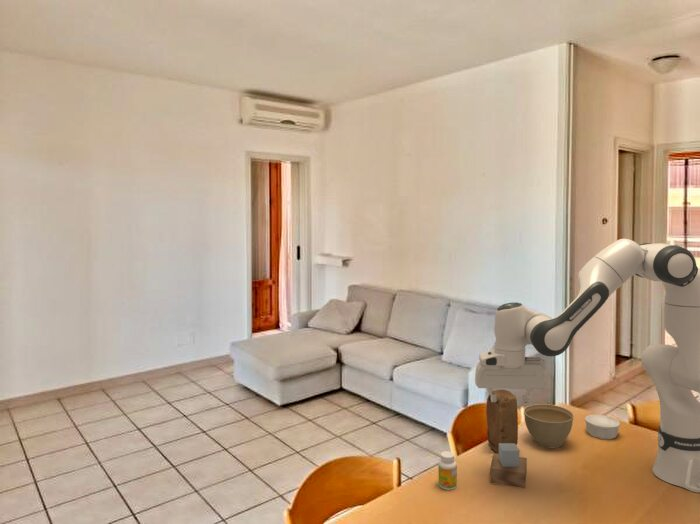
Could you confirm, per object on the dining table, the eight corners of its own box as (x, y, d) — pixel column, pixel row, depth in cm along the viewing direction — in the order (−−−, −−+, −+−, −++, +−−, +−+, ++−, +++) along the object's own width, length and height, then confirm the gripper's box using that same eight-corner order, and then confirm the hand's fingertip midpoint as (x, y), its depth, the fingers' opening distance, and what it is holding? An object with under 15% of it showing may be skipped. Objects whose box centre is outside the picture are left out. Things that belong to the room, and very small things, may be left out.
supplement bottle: (434, 485, 153) (434, 453, 152) (446, 478, 157) (446, 448, 156) (449, 492, 149) (448, 460, 148) (460, 485, 153) (460, 454, 152)
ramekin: (626, 438, 181) (627, 424, 181) (600, 443, 178) (600, 428, 178) (603, 426, 192) (603, 412, 192) (578, 430, 189) (578, 416, 189)
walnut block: (526, 473, 160) (526, 457, 159) (525, 489, 150) (525, 473, 150) (493, 468, 163) (493, 453, 163) (490, 483, 154) (490, 467, 154)
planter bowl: (517, 432, 188) (518, 404, 187) (562, 432, 187) (563, 403, 186) (531, 453, 172) (532, 422, 171) (580, 453, 171) (581, 421, 170)
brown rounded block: (519, 454, 171) (520, 396, 169) (499, 457, 169) (499, 398, 168) (502, 440, 182) (502, 385, 180) (483, 443, 180) (483, 388, 178)
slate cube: (515, 459, 159) (515, 443, 158) (519, 466, 154) (519, 450, 153) (498, 458, 159) (498, 443, 159) (502, 466, 154) (502, 450, 154)
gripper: (542, 354, 155) (542, 398, 157) (474, 354, 158) (474, 397, 159) (548, 360, 149) (548, 406, 150) (476, 360, 151) (477, 405, 153)
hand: (509, 401), depth 155 cm, fingers open, 8 cm apart
